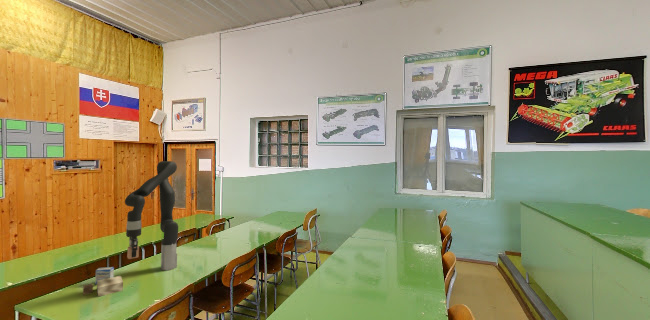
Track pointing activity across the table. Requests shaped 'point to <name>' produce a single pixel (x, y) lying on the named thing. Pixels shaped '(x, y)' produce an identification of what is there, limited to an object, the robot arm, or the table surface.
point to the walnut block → (88, 289)
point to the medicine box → (104, 273)
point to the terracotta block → (129, 253)
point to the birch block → (109, 285)
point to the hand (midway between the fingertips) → (133, 255)
